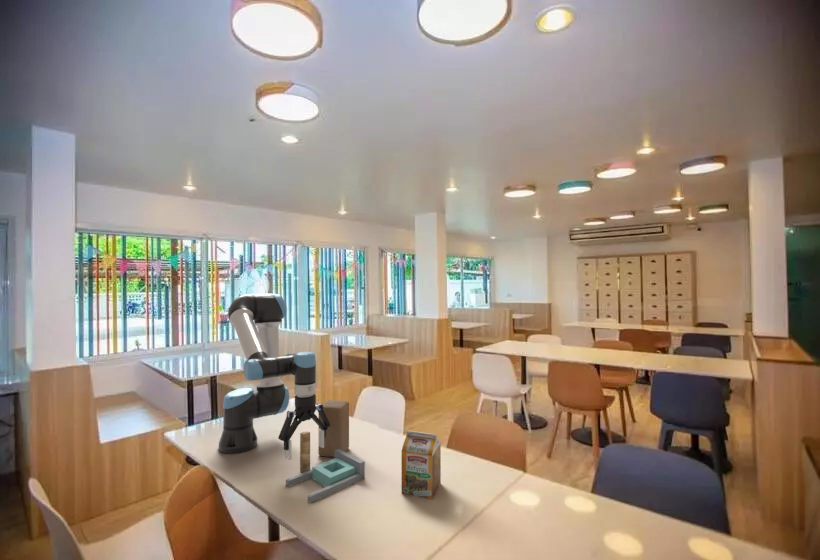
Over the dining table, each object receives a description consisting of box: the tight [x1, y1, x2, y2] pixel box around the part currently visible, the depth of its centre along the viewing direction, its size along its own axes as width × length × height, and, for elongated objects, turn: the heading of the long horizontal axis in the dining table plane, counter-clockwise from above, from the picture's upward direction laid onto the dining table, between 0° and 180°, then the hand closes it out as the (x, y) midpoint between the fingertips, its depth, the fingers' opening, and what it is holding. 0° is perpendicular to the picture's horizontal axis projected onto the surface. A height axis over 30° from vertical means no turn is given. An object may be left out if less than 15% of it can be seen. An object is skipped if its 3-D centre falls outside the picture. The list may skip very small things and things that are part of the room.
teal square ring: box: [311, 457, 356, 488], centre depth 141 cm, size 11×11×4 cm
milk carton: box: [401, 430, 442, 501], centre depth 134 cm, size 11×11×19 cm
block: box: [317, 399, 350, 458], centre depth 162 cm, size 10×10×20 cm
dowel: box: [299, 431, 311, 474], centre depth 146 cm, size 4×4×14 cm
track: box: [285, 449, 366, 504], centre depth 138 cm, size 16×22×6 cm
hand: (305, 452), depth 146 cm, fingers open, 13 cm apart
